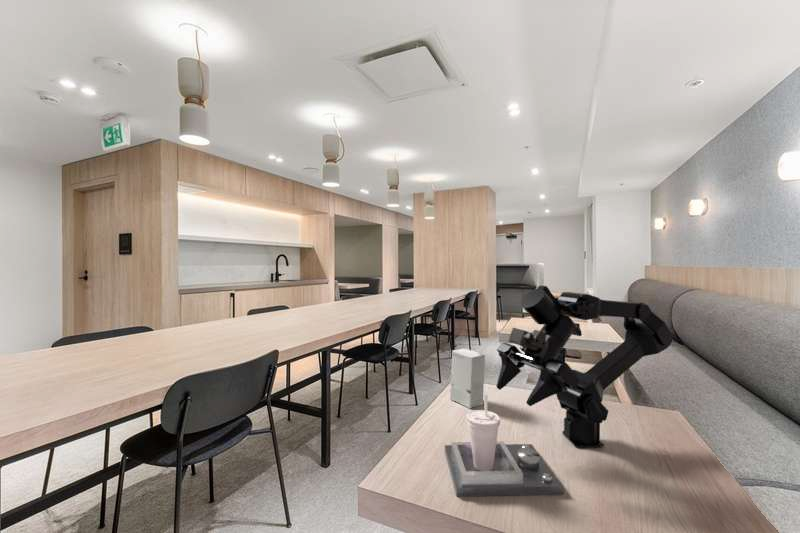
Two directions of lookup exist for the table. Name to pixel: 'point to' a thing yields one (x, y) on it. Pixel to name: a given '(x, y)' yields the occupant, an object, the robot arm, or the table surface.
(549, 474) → the grey tray with knobs
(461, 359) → the skincare box
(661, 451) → the table surface
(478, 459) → the smoothie
